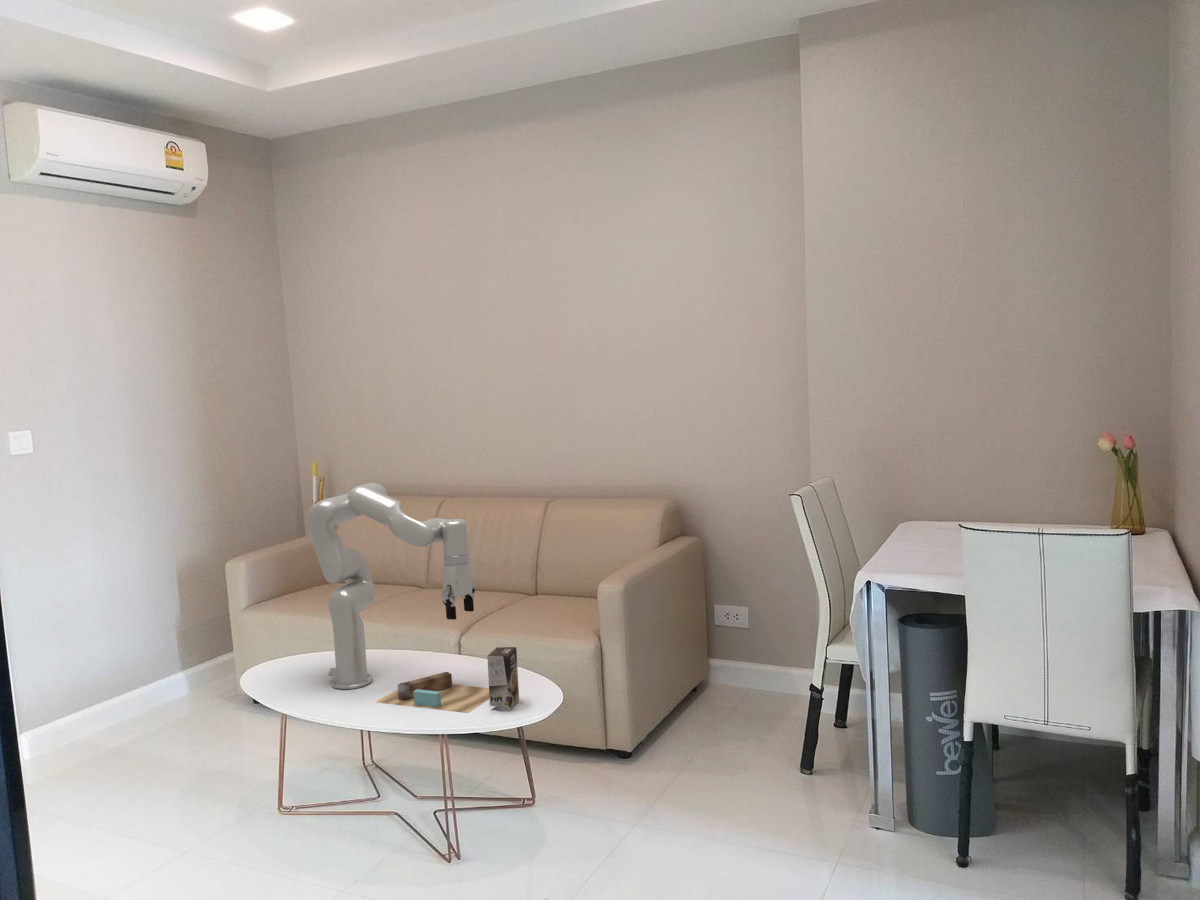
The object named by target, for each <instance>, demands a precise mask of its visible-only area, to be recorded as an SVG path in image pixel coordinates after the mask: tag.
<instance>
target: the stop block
mask: <svg viewBox="0 0 1200 900" xmlns="http://www.w3.org/2000/svg"><path fill="white" fill-rule="evenodd" d="M413 695H414V705H419V706H427V707H436V708H438V707H439V706H441V692H438V691H429V690H420V689H417V690H415V691H413Z"/></svg>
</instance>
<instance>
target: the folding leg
mask: <svg viewBox="0 0 1200 900" xmlns="http://www.w3.org/2000/svg"><path fill="white" fill-rule="evenodd" d="M452 676H453V674H452V673H451V672H448V671H444V672H441V673H436V674H432V675H428V676H423V677H420V678H418V679H414V680H409V681H404V682H401V683H398V684H397V690H398V699H400V700H405V699H409V698H412V697H414V695H413V691H415V690H417V689H420V690H429V691H438V690H442V689H446V688H449V687H452V684H453V677H452Z"/></svg>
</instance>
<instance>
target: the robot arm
mask: <svg viewBox="0 0 1200 900" xmlns="http://www.w3.org/2000/svg"><path fill="white" fill-rule="evenodd" d="M402 511H403V507H402V503H401V501H399V500H398V499H395V498H394V497H391V496H389V495H388V492H387V490H386V489H385V487H384V486H383V485H381V484H380V483H377V482H369V483H363V484H360V485H359V484H358V485H356V486H354V487H353V488H351V490H350V491H349V492H348V493H345V494H341V495H337V496H331V497H328V498H325V499H321V500H319V501H318V502H316V503H314V504H313V505H312V506H311V507H310V509H309V510H308V513H307V515H306V517H305V519H306V521H305V523H306V524H305V525H306V530H307V532H308V535H309V537H310V540H311V542H312V544H313V547H314V550H315V553H316V557H317V560H318V563H319V566H320V569H321V571H322V575H323V578H324V579H325V581H327V582H328V583H329V584H339V583H342V582H344V583H345V584H344V585H341V586H339V587H337V588H336V589H335V590H333V591H332V593H330V595H329V598H328V601H327V603H328V604H327V605H328V610H329V615H330V618H331V624H332V631H333V633H332V634H333V635H332V636H333V645H334V660H335V661H334V662H335V667H331V668H330V669H329V671H328V672H327V676H330V677H333V679H332V681H331V686H332V687H333V688H334V689H336V690H337V689H338V690H353V689H359V688H363V687H366V686H368V685H370V684H371V683H372V682H373V675H371V674H369V673H368V665H367V663H368V662H367V651H366V636H365V635H366V634H365V627H364V622H363V619H362V617H361V614H360V612H361V611H363V610H365V609H367V608H369V607H371V606H372V604H373V603H374V601H375V599H376V588H375V584H374V581H373V579H372V575H371V572H370V569H369V566H368V563H367V560H366V559H365V557H364V555H363V554H362V552H360V551H359V550H358V549H355V548H345V547H344V544H343V541H342V538H341V536H340V534H339V533H338V531H337V530H336V529H335V528H334V526H335V525H336V524H339V523H344V522H347V521H351V520H353V519H356V518H358V517H360V516H364V517H365V516H366V518H367V517H368V518H369V519H371V520H374V521H376V522H378V523H380V524H382V525H385V526H386V527H387V529H388V530H389V532H391V533H392V534H393V535H394V536H395V537H397V538H398V539H400V540H402V541H404V542H406V543H408V544H410V545H412V546H415V547H418V548H427V547H430V546H433V545H434V544H437V543H441V542H442V546H443V547H442V549H443V562H444V566H443V569H442V570H443V571H442V593H441V594H440V597H441V600H442V603H443V606H444V607H445V615H446V620H451V621H452V620H453V621H454V620H457V609H456V608H457V607H456V605H455V604H456V602H457V600H458V599H460V598H463V597H464V598H463V610H464V611H465V612H471V613H472V612H474V611H475V608H474V598H475V595H474V594H475V592H476V584H477V583H476V581H474V580H473V577H472V570H471V565H470V554H469V552H470V551H469V538H468V524H467V521H466V520H465V519H462V518H452V519H447V518H440V517H434V518H431V519H427V520H424V521H419V520H417V519H414V518H412V517H409V516H408V515H407V514H406V513H404V512H402ZM369 683H370V684H369ZM367 684H368V685H367ZM365 685H366V686H365ZM362 686H363V687H362Z"/></svg>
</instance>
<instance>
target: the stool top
mask: <svg viewBox="0 0 1200 900" xmlns="http://www.w3.org/2000/svg"><path fill="white" fill-rule="evenodd" d="M438 692H441V706H439V707H438V708H436V707H427V706H419V705H414V697H412V698H409V699H405V700H400V699H398V689H396V690H394V691H392V692H391V693H389V694H387V695H385V696H383V697H381V698H380V699H378V700H376V701H375V703H378V704H386V705H387V704H388V705H394V706H395V705H396V706H405V707H413V708H420V709H421V708H422V709H429V710H437V711H447V712H456V713H461V714H462V713H464V714H469V713H471V712H472V711H474V710H475V709H477V708H479V707H480V706H481V705H483V704H484V703H486V702H487V701H488V700H489V701H490V697H489V687H482V686H473V685H463V684H454V683H452V687H449V688H446V689H442V690H438Z"/></svg>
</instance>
